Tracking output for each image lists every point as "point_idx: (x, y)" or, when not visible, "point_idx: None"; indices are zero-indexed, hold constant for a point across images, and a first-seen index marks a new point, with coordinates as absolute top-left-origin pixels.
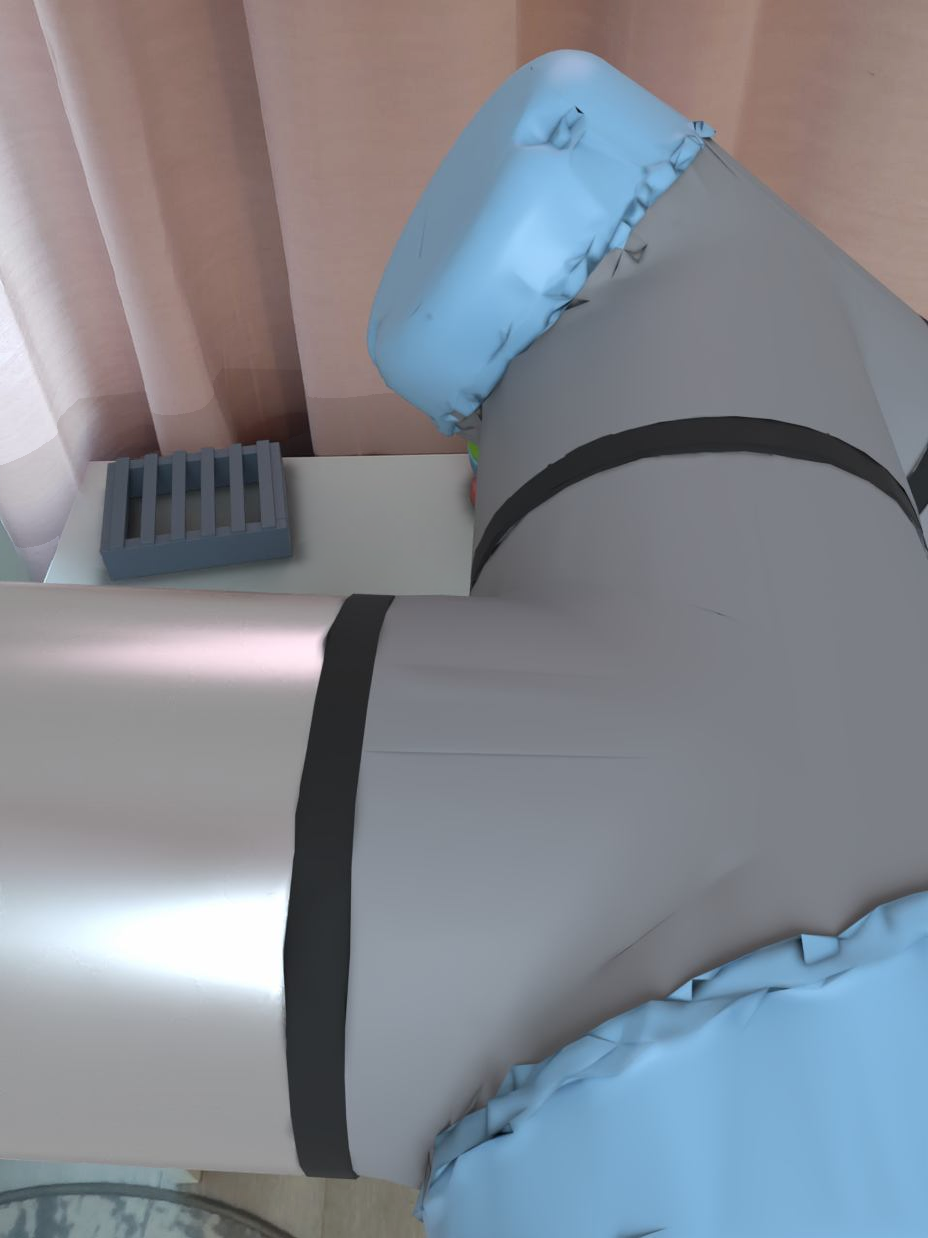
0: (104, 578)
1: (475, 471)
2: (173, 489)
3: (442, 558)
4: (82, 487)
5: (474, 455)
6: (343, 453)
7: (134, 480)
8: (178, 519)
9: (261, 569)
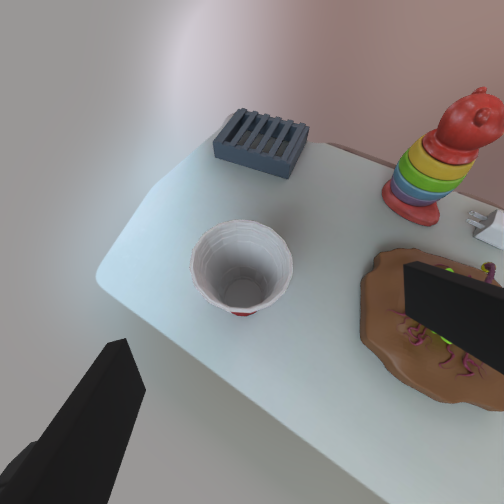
0: (213, 155)
1: (394, 176)
2: (255, 128)
3: (353, 211)
4: (228, 117)
5: (400, 167)
6: (334, 145)
7: (245, 120)
8: (249, 141)
9: (272, 179)
